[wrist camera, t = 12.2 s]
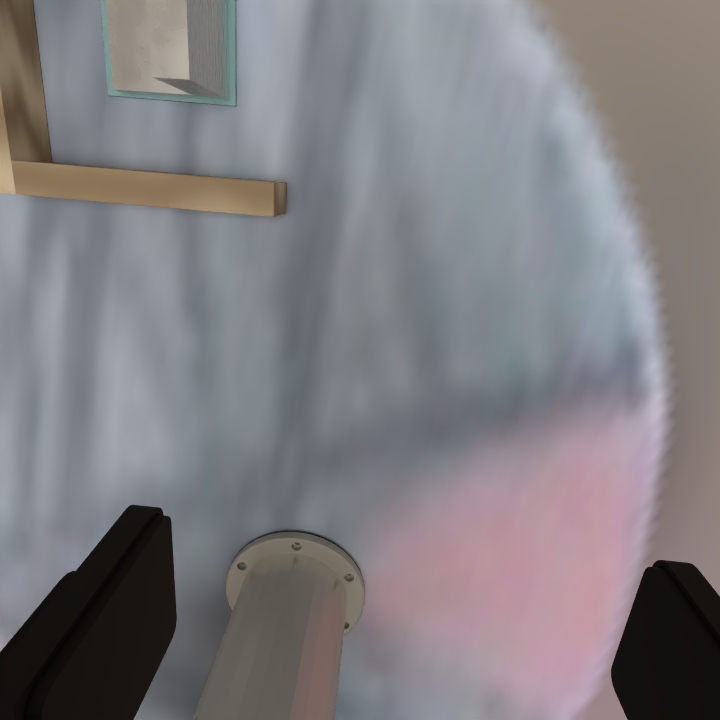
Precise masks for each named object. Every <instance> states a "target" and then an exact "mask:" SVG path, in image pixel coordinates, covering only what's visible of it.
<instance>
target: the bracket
mask: <svg viewBox="0 0 720 720" xmlns="http://www.w3.org/2000/svg"><path fill="white" fill-rule="evenodd" d="M105 4H106V16H107V27H108V38H109V50H110V61H111V72H112V84H113V90H116V91H119V92H122V93H126V94H141V95H156V96H171V97H186V98H201V99H216V100H230V69H229V15H228V0H105Z"/></svg>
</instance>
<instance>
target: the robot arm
mask: <svg viewBox="0 0 720 720" xmlns="http://www.w3.org/2000/svg"><path fill="white" fill-rule="evenodd" d="M364 595H365V590H364V582H363V578H362V576H361V573H360V571H359V569H358V567H357V566H356V564H355V563H354V561H353V560H352V559H351V558H350V557H349V556H348V555H347V554H346V553H345V552H344V551H343V550H342V549H340V548H339V547H337V546H336V545H335V544H333V543H331V542H329V541H327V540H325V539H323V538H320V537H317V536H314V535H311V534H306V533H299V532H280V533H274V534H269V535H266V536H263V537H261V538H258V539H256V540H254V541H253V542H251V543H249V544H248V545H246V546H245V547H244V548H243V549H242V550H241V551H240V552H239V553H238V555H237V556H236V557H235V559H234V560H233V562H232V565H231V567H230V569H229V572H228V575H227V579H226V596H227V600H228V604H229V606H230V608H231V610H232V614H231V616H230V619H229V622H228V625H227V627H226V630H225V633H224V635H223V638H222V641H221V643H220V646H219V649H218V652H217V654H216V657H215V660H214V662H213V665H212V668H211V671H210V673H209V676H208V679H207V681H206V684H205V687H204V690H203V692H202V695H201V698H200V700H199V703H198V706H197V708H196V711H195V714H194V717H193V719H192V720H335V710H336V700H337V691H338V681H339V672H340V662H341V653H342V643H343V636H344V635H345V634H346V633H348V632H349V631H350V630H351V629H352V628H353V627H354V625H355V624H356V623H357V621H358V619H359V618H360V616H361V614H362V610H363V605H364ZM176 620H177V616H176V599H175V581H174V563H173V545H172V528H171V519H170V517H169V516H163V511H162V509H161V508H158V507H149V506H139V505H131V506H129V507H128V508H127V509H126V510H125V511H124V512H123V514H122V515H121V516H120V517H119V519H118V520H117V521H116V522H115V523H114V525H113V526H112V527H111V528H110V530H109V531H108V532H107V533H106V535H105V536H104V537H103V538H102V539H101V541H100V542H99V543H98V544H97V546H96V547H95V548H94V549H93V551H92V552H91V553H90V554H89V556H88V557H87V558H86V559H85V560H84V562H83V563H82V564H81V565H80V567H79V568H78V569H77V570H76V571H72V572H70V573H68V574H66V575H65V576H64V577H63V578H62V579H61V580H60V581H59V582H58V583H57V585H56V586H55V587H54V588H53V589H52V591H51V592H50V593H49V594H48V595H47V597H46V598H45V599H44V600H43V601H42V603H41V604H40V605H39V606H38V607H37V609H36V610H35V611H34V612H33V613H32V615H31V616H30V617H29V618H28V620H27V621H26V622H25V623H24V624H23V626H22V627H21V628H20V629H19V630H18V632H17V633H16V634H15V635H14V636H13V638H12V639H11V640H10V641H9V642H8V644H7V645H6V646H5V647H4V648H3V650H2V651H1V652H0V720H134V717H135V715H136V713H137V711H138V709H139V707H140V705H141V703H142V701H143V699H144V697H145V694H146V692H147V690H148V688H149V686H150V684H151V682H152V680H153V678H154V676H155V674H156V672H157V669H158V667H159V665H160V663H161V661H162V659H163V657H164V655H165V653H166V651H167V649H168V646H169V644H170V642H171V640H172V638H173V635H174V632H175V627H176ZM611 678H612V684H613V687H614V690H615V692H616V694H617V697H618V699H619V701H620V704H621V706H622V708H623V710H624V713H625V715H626V717H627V719H628V720H720V596H719V595H718V594H717V593H716V591H715V590H714V589H713V588H712V586H711V585H710V584H709V583H708V581H707V580H706V579H705V577H704V576H703V575H702V574H701V572H700V571H699V570H698V569H697V568H696V567H695V566H694V565H693V564H690V563H684V562H675V561H665V560H658V561H656V562H655V563H654V564H653V566H652V567H648V568H646V569H645V571H644V574H643V577H642V579H641V582H640V585H639V588H638V591H637V594H636V597H635V600H634V603H633V606H632V609H631V612H630V615H629V618H628V620H627V623H626V626H625V629H624V632H623V635H622V638H621V641H620V644H619V647H618V650H617V653H616V656H615V659H614V662H613V664H612V669H611Z"/></svg>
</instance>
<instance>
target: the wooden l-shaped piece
mask: <svg viewBox="0 0 720 720" xmlns="http://www.w3.org/2000/svg"><path fill="white" fill-rule="evenodd" d="M0 193H9V194H21V195H32V196H43V197H55V198H66V199H77V200H89V201H100V202H111V203H123V204H134V205H146V206H157V207H168V208H180V209H191V210H202V211H214V212H225V213H236V214H248V215H259V216H270V217H274V216H278V215H281V214H285V213H286V197H287V183H282V182H270V181H259V180H247V179H235V178H224V177H212V176H200V175H189V174H177V173H166V172H154V171H142V170H131V169H119V168H108V167H96V166H84V165H73V164H61V163H52V159H51V151H50V142H49V134H48V125H47V117H46V108H45V100H44V92H43V83H42V75H41V66H40V58H39V49H38V41H37V32H36V24H35V16H34V7H33V0H0Z"/></svg>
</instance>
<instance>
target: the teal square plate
mask: <svg viewBox="0 0 720 720" xmlns="http://www.w3.org/2000/svg"><path fill="white" fill-rule="evenodd" d="M101 13H102V25H103V38H104V50H105V63H106V75H107V88H108V95H109V96H119V97H131V98H143V99H155V100H167V101H179V102H192V103H204V104H216V105H228V106H236V0H228V15H229V69H230V100H216V99H201V98H186V97H171V96H156V95H141V94H126V93H122V92H119V91H116V90H113V84H112V72H111V61H110V50H109V38H108V27H107V16H106V4H105V0H101Z"/></svg>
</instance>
